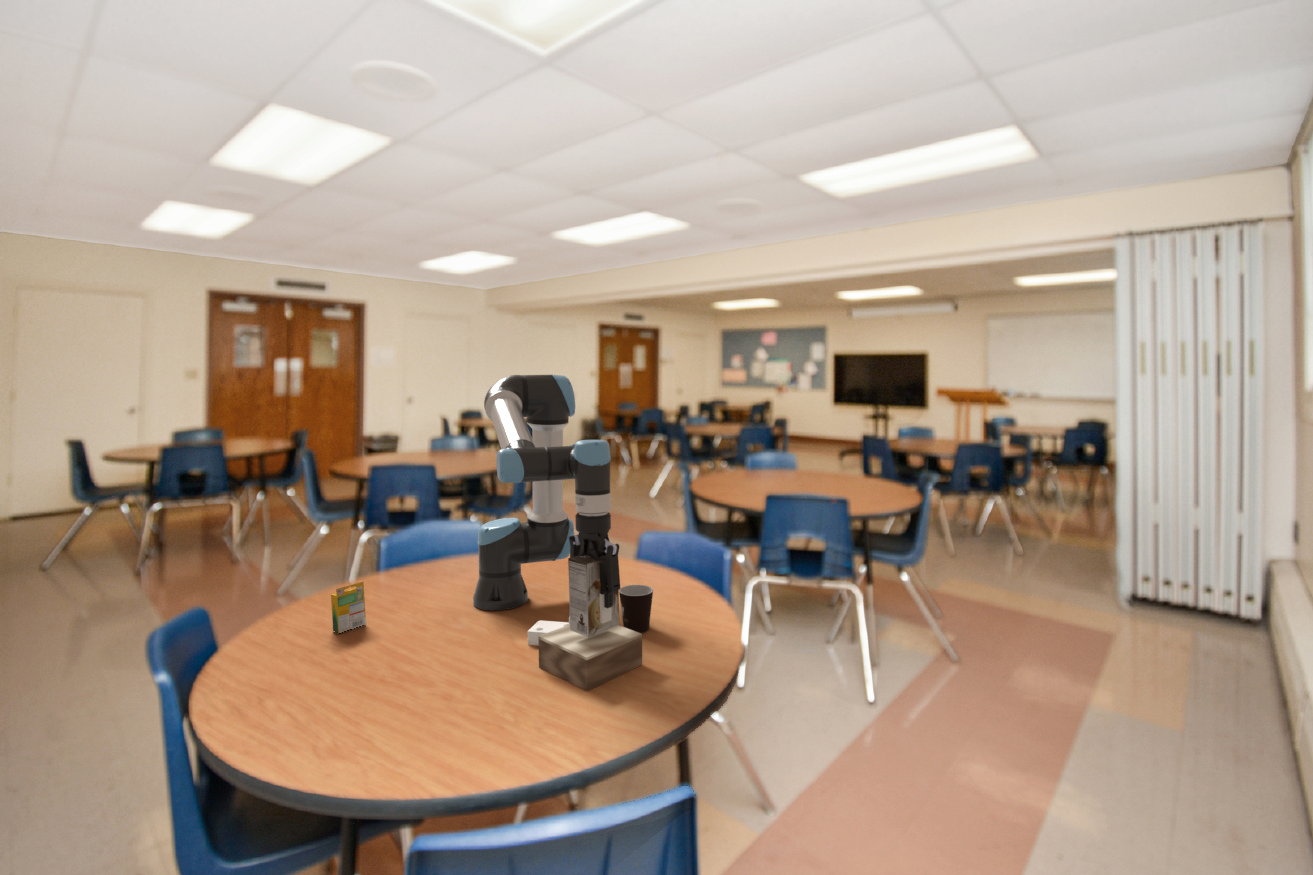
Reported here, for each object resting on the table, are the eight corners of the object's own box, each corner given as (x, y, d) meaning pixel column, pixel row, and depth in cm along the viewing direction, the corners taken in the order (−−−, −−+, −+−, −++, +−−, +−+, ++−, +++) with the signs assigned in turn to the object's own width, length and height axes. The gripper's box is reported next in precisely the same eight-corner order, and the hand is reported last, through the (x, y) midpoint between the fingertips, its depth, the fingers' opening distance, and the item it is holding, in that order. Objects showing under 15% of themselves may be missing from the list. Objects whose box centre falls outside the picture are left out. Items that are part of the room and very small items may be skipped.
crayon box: (360, 622, 162) (358, 579, 161) (366, 625, 160) (364, 581, 159) (332, 631, 156) (330, 586, 155) (338, 634, 154) (336, 589, 153)
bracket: (589, 637, 152) (588, 607, 151) (579, 649, 145) (579, 618, 145) (539, 634, 155) (538, 604, 154) (527, 645, 148) (527, 614, 147)
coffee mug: (649, 636, 152) (649, 596, 151) (615, 633, 154) (615, 594, 153) (658, 619, 163) (658, 582, 162) (627, 616, 165) (626, 580, 164)
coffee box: (600, 618, 140) (599, 548, 139) (620, 625, 136) (619, 553, 134) (568, 630, 133) (567, 557, 132) (588, 638, 129) (587, 563, 128)
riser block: (538, 667, 136) (538, 636, 135) (593, 644, 147) (593, 615, 147) (587, 690, 125) (586, 657, 124) (642, 664, 137) (641, 633, 136)
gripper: (550, 509, 136) (552, 611, 138) (611, 521, 123) (612, 634, 125) (577, 504, 142) (578, 602, 144) (637, 515, 129) (638, 623, 131)
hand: (594, 617), depth 134 cm, fingers closed on coffee box, 6 cm apart
